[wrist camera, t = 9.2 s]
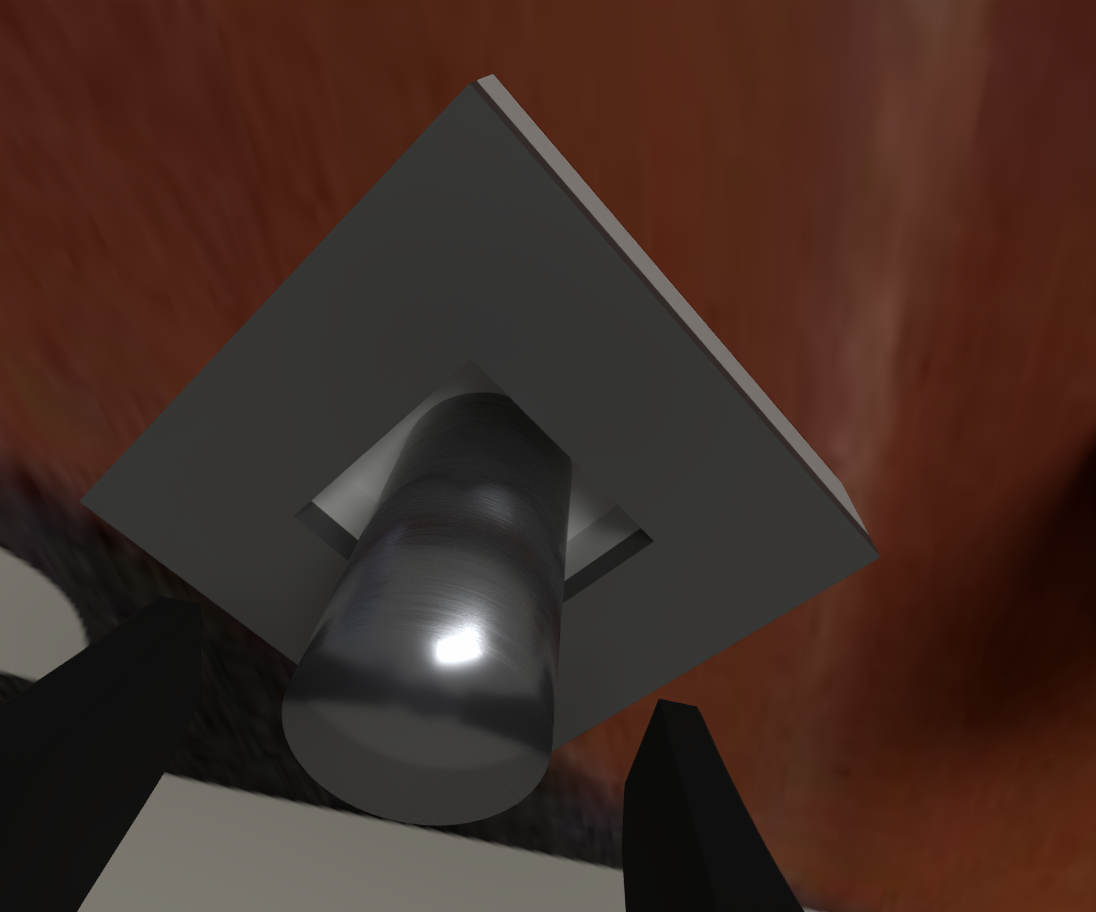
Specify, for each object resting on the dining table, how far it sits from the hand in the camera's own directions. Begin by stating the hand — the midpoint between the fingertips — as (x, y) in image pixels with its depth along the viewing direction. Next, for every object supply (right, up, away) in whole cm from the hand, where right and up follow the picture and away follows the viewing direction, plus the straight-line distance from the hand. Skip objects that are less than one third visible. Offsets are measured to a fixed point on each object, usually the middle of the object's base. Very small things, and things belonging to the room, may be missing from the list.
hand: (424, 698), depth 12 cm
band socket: (+1, +4, +7) cm, 8 cm away
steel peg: (+1, +3, +6) cm, 7 cm away
